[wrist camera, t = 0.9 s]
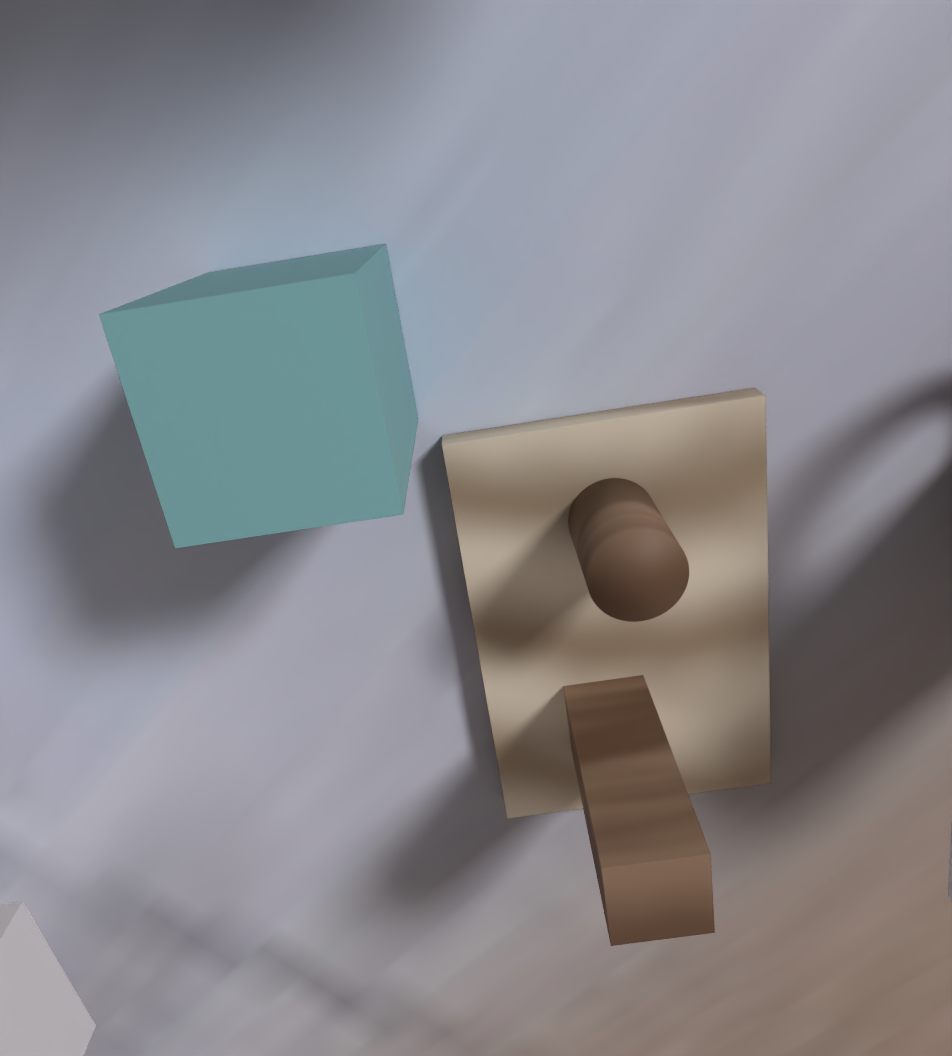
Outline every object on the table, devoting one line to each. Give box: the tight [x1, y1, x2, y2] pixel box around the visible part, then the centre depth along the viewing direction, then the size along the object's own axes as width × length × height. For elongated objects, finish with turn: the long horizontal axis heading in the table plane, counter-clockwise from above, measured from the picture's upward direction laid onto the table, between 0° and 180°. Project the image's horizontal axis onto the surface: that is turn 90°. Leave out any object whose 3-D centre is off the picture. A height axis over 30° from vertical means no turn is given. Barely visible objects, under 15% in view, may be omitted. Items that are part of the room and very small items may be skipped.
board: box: [442, 388, 771, 946], centre depth 30 cm, size 18×12×11 cm, turn 9°
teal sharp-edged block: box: [99, 244, 418, 548], centre depth 26 cm, size 6×6×10 cm
